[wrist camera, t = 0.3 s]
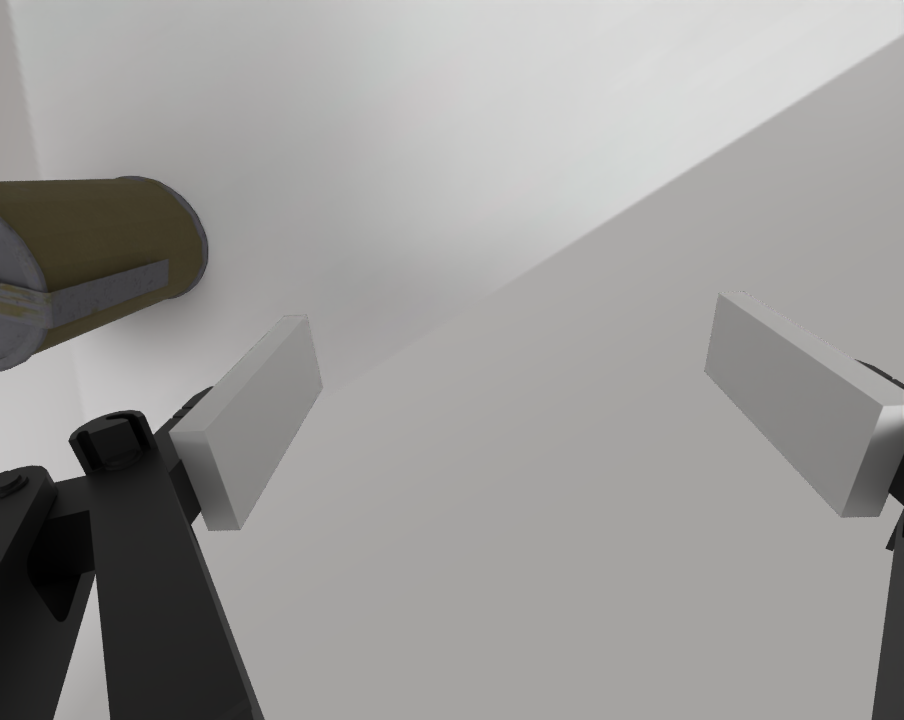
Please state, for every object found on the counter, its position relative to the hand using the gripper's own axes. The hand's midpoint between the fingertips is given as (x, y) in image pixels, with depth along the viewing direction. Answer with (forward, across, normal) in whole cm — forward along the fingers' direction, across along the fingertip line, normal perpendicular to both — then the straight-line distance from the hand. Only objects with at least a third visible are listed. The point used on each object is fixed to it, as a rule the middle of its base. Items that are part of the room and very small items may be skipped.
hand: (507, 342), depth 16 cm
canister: (+26, -29, -1) cm, 39 cm away
